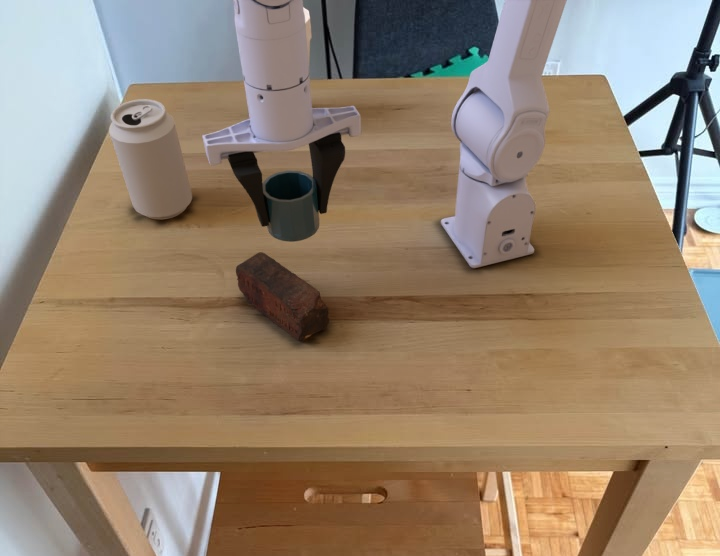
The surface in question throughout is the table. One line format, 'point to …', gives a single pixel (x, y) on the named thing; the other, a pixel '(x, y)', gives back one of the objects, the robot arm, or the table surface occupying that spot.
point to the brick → (282, 296)
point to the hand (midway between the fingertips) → (292, 214)
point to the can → (150, 158)
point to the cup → (291, 205)
